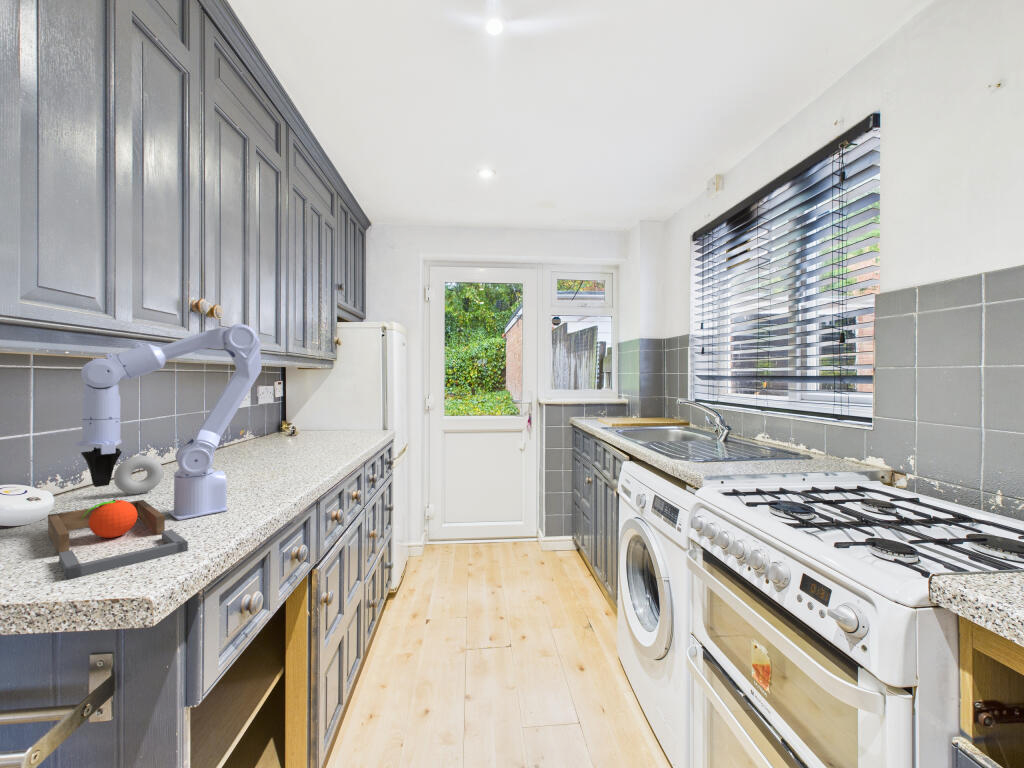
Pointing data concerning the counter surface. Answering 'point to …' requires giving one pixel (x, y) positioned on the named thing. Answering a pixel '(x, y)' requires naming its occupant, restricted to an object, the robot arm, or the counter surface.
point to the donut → (128, 466)
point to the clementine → (112, 518)
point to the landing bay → (122, 557)
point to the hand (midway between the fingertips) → (101, 485)
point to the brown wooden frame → (73, 520)
